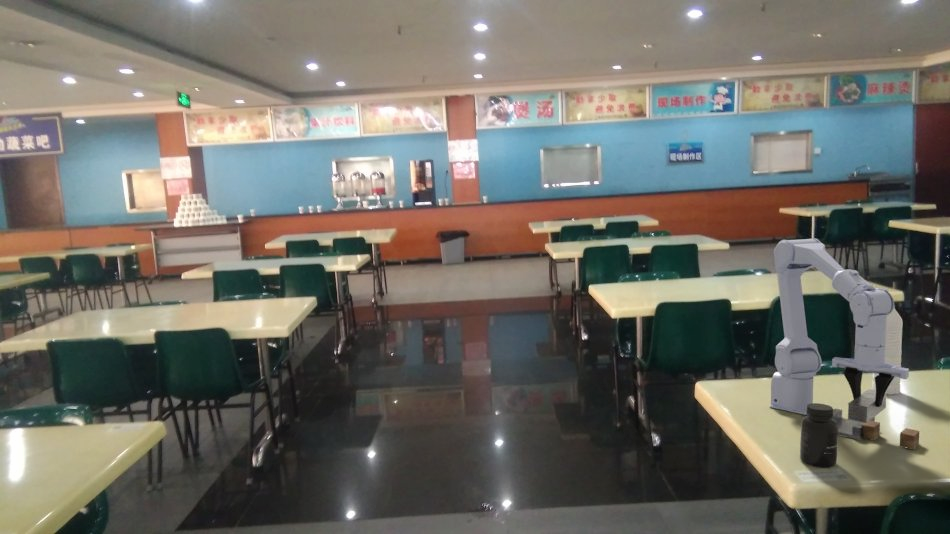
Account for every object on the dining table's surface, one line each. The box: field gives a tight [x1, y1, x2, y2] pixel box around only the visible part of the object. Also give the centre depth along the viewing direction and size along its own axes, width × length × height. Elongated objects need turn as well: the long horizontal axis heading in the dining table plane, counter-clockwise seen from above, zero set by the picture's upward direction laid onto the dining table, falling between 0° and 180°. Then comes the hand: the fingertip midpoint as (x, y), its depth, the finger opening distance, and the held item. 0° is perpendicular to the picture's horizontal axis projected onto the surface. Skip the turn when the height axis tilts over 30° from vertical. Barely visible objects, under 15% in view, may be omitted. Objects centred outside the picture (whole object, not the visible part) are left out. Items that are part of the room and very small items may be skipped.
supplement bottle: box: [799, 402, 839, 469], centre depth 132 cm, size 7×7×12 cm
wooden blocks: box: [861, 421, 920, 450], centre depth 142 cm, size 10×4×3 cm, turn 42°
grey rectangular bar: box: [847, 388, 887, 423], centre depth 141 cm, size 4×13×4 cm, turn 132°
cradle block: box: [832, 408, 876, 441], centre depth 149 cm, size 9×10×3 cm
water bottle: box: [871, 305, 904, 396], centre depth 174 cm, size 9×6×25 cm
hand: (867, 403), depth 141 cm, fingers closed on grey rectangular bar, 4 cm apart
